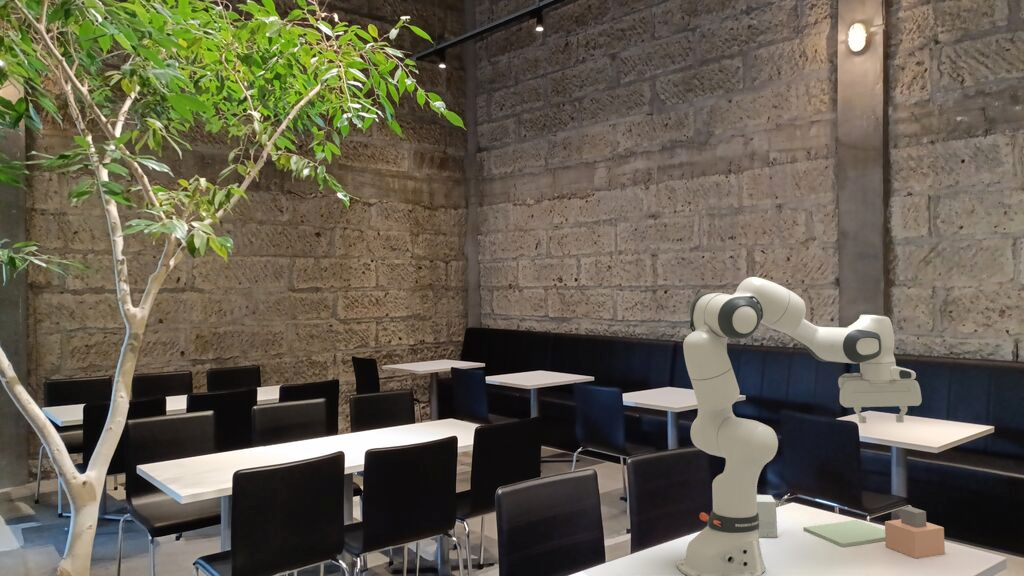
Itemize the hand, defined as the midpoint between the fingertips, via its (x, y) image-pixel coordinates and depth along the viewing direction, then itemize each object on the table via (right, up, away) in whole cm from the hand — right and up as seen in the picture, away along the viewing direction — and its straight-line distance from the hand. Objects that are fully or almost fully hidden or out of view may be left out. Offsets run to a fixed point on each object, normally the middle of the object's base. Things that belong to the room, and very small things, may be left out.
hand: (881, 422), depth 197 cm
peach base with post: (+9, -35, -1) cm, 36 cm away
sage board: (-2, -36, +14) cm, 38 cm away
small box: (-26, -36, +17) cm, 48 cm away
